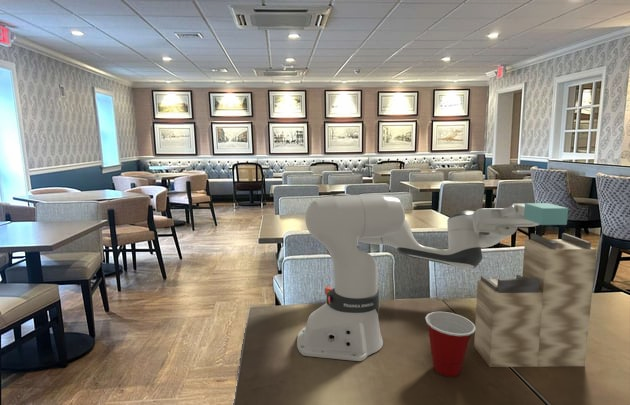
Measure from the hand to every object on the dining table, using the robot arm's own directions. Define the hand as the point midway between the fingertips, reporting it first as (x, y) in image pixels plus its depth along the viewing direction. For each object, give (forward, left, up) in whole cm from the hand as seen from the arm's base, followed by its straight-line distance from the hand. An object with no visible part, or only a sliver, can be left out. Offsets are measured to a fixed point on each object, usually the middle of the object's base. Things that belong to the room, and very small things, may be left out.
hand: (523, 207), depth 106 cm
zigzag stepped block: (-6, -17, -34) cm, 38 cm away
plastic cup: (-27, -23, -34) cm, 49 cm away
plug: (0, -6, -2) cm, 6 cm away
